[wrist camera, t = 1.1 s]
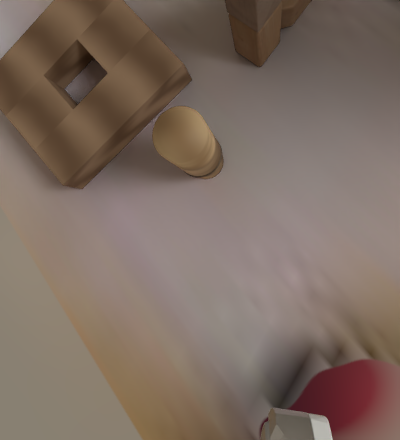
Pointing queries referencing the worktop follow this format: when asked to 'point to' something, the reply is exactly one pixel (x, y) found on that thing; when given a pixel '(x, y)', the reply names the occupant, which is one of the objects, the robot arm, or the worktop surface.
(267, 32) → the wooden braced stand
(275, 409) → the robot arm
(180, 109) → the peg
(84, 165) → the board
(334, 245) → the worktop surface
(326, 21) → the worktop surface
